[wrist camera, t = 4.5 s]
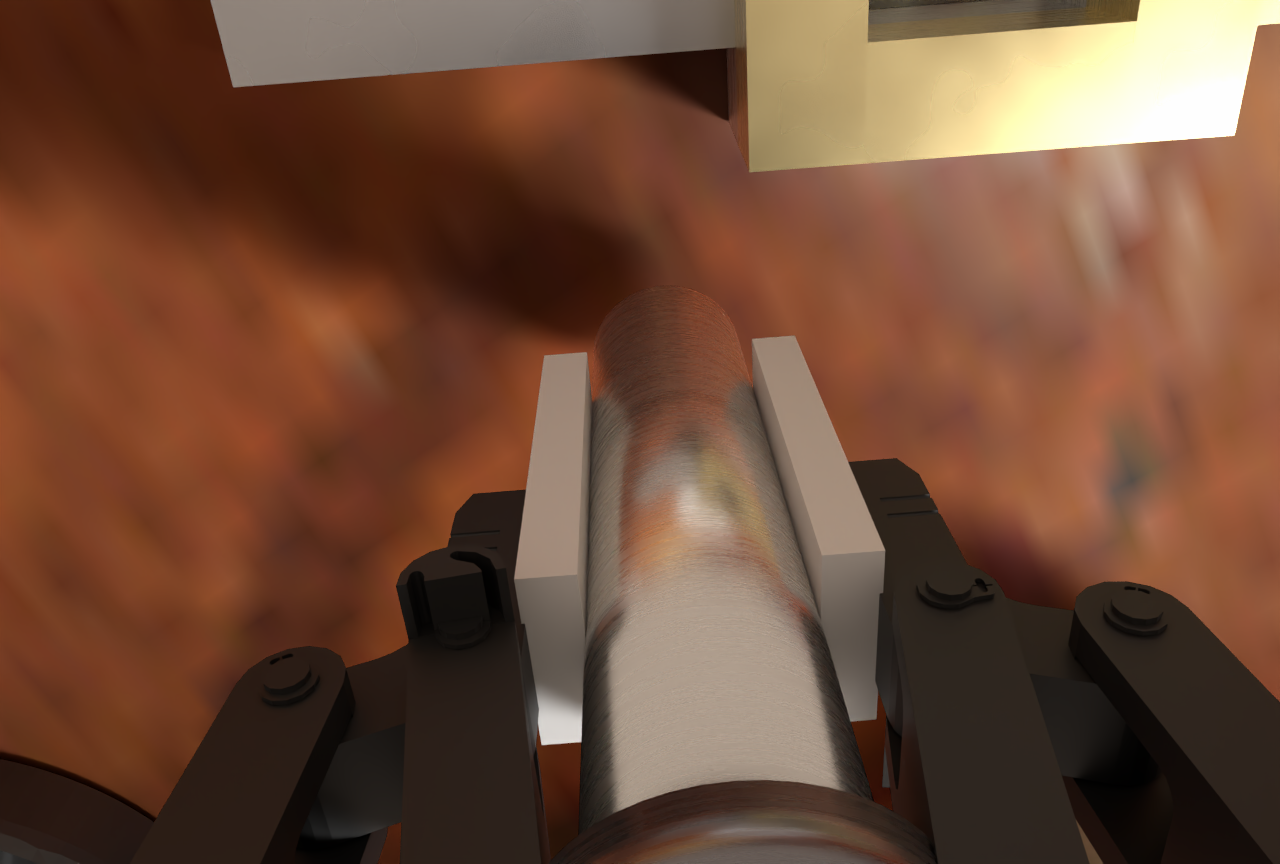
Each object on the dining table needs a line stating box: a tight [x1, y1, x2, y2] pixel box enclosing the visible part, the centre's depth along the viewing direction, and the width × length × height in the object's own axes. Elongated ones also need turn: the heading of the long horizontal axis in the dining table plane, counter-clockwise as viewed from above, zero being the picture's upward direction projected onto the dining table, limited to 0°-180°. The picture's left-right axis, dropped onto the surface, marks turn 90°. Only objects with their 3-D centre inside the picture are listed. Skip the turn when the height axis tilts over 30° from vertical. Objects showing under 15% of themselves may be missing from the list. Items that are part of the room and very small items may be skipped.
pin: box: [549, 286, 937, 864], centre depth 14 cm, size 4×4×14 cm
